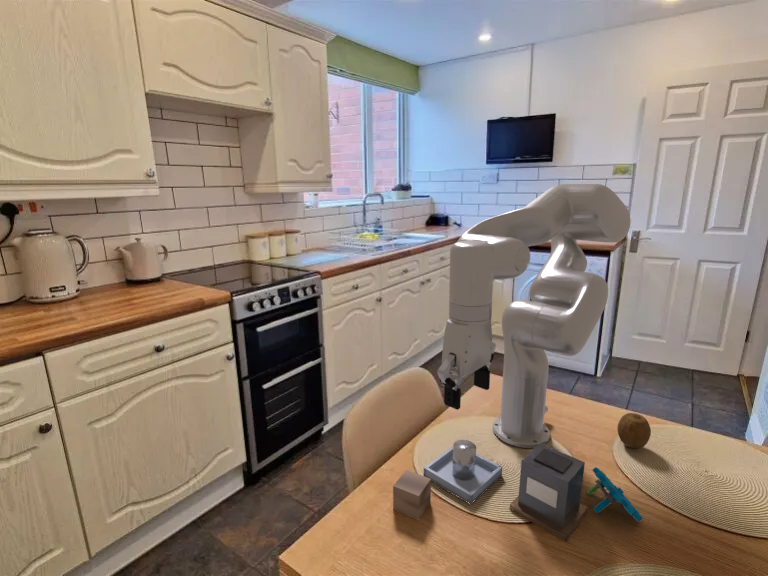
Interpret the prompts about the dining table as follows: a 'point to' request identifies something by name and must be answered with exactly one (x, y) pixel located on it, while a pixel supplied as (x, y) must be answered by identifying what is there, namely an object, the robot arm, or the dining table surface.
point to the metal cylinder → (464, 460)
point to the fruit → (634, 430)
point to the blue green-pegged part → (611, 495)
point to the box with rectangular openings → (551, 491)
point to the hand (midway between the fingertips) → (467, 396)
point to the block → (411, 494)
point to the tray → (467, 489)
